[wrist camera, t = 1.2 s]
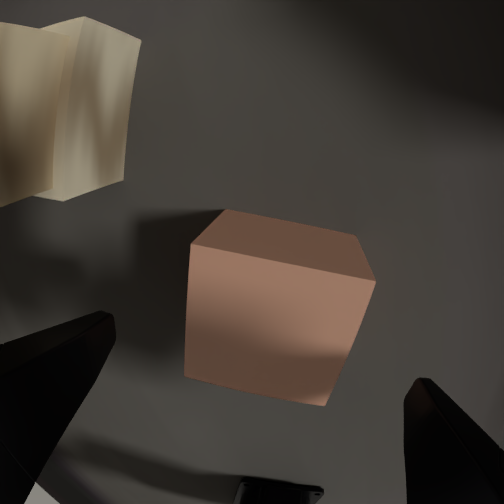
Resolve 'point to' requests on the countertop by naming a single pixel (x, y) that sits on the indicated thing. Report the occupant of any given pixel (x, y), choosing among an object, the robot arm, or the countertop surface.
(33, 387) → the robot arm
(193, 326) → the terracotta block
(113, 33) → the tower base
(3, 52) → the tower mid
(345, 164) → the countertop surface
